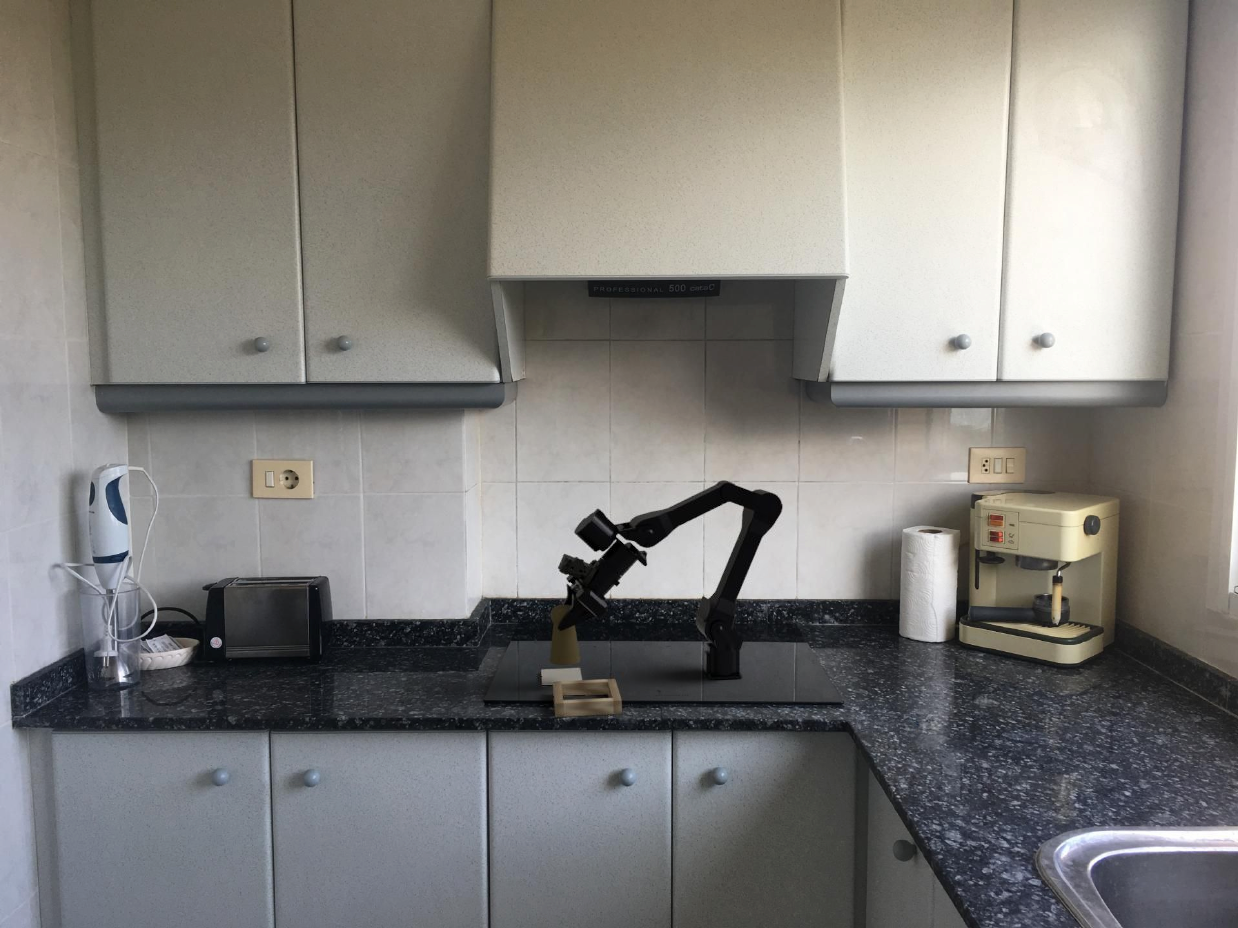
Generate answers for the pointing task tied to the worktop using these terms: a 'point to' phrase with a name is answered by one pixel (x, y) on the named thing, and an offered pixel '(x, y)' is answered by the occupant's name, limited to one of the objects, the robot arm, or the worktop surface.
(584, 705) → the oak collar
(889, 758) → the worktop surface
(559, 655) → the olive knobbed peg
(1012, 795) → the worktop surface
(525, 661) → the worktop surface
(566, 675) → the cream tile
